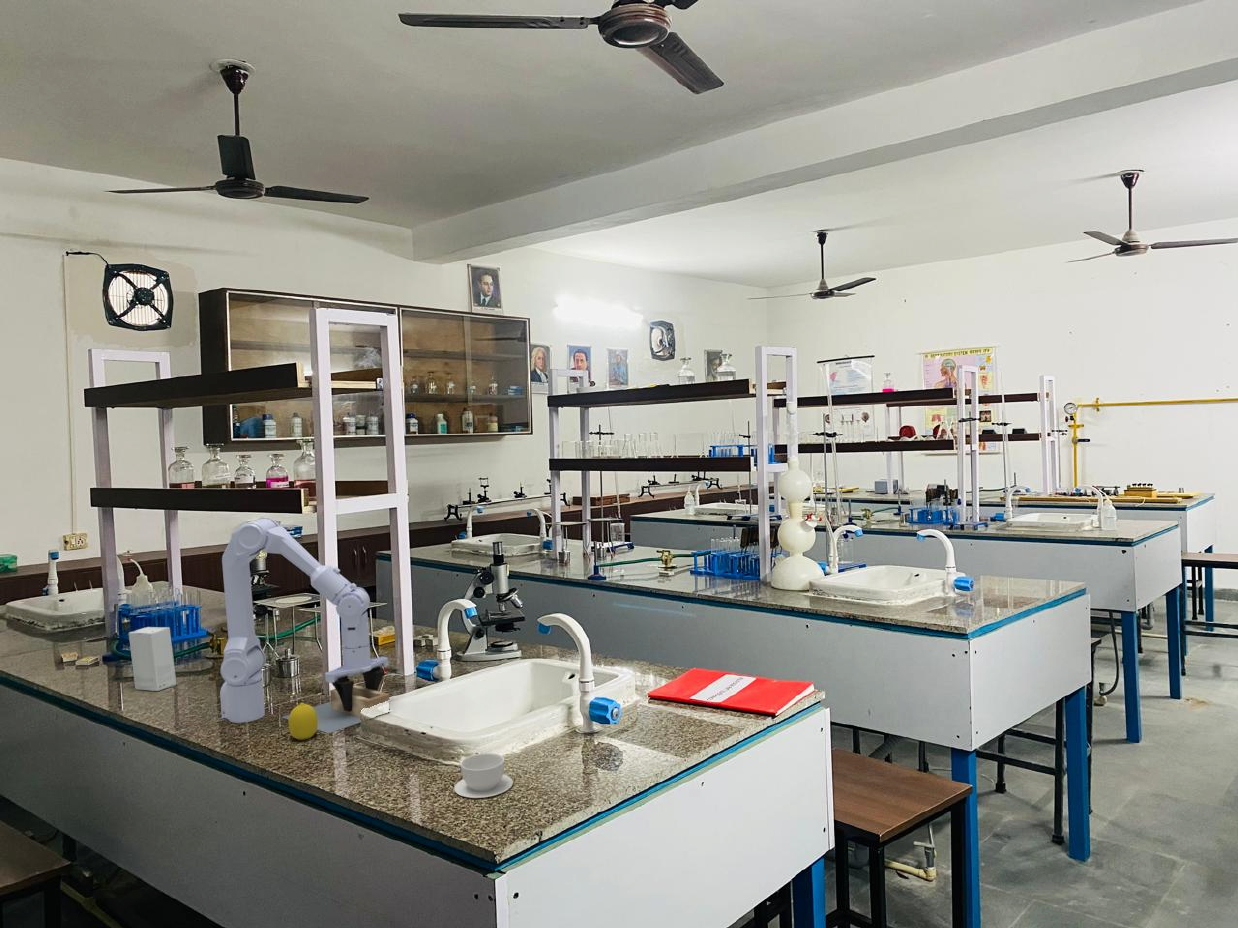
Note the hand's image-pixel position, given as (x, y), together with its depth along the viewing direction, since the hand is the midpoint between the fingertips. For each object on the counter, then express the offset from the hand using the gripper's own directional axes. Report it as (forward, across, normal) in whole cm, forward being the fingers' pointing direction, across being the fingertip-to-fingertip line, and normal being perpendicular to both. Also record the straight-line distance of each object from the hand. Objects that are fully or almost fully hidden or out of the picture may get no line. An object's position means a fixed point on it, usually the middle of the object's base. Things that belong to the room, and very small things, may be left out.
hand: (359, 706), depth 189 cm
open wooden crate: (+1, 0, 0) cm, 1 cm away
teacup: (+2, -10, -51) cm, 53 cm away
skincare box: (+2, -16, +64) cm, 66 cm away
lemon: (+2, -16, -4) cm, 17 cm away
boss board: (+2, -4, +2) cm, 5 cm away
